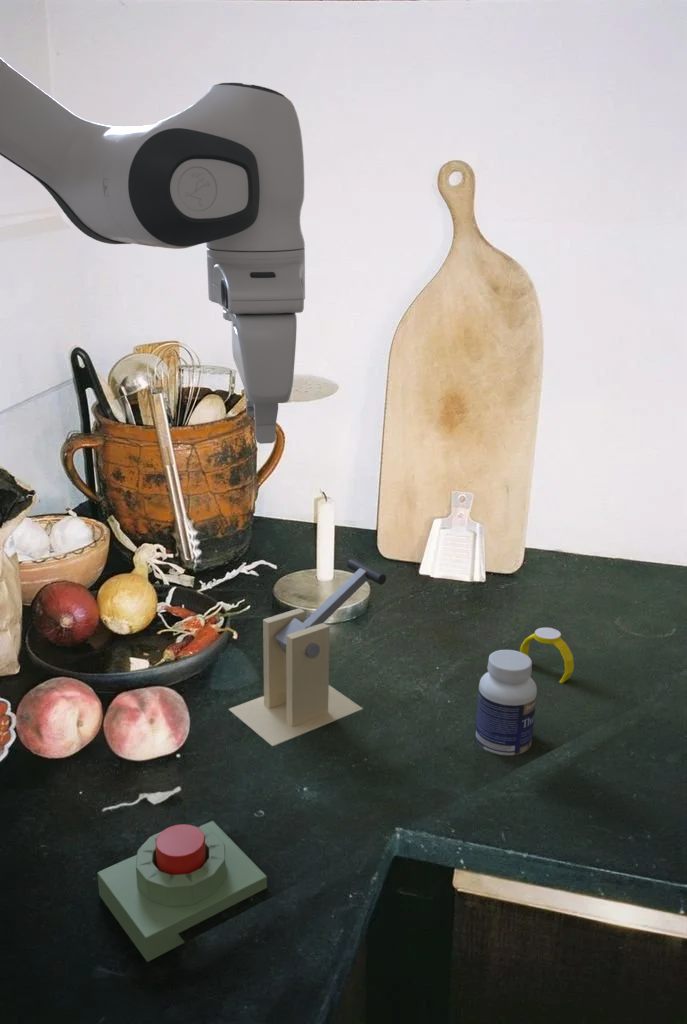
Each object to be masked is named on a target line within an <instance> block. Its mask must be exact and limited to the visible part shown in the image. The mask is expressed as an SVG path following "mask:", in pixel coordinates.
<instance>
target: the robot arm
mask: <svg viewBox="0 0 687 1024" xmlns="http://www.w3.org/2000/svg"><path fill="white" fill-rule="evenodd" d="M0 156H1V157H3V158H4V159H5V160H7V161H9V162H11V163H12V164H13V165H15V166H16V167H18V168H19V169H21V170H23V171H24V172H25V173H26V174H28V175H30V176H31V177H32V178H33V179H35V180H36V181H37V182H38V183H39V184H40V185H42V186H43V188H44V189H46V191H48V193H49V195H51V197H52V198H53V200H55V202H56V203H57V205H58V206H59V208H60V209H61V210H62V212H63V213H64V215H65V216H66V217H67V218H68V220H69V221H70V222H71V223H72V224H73V225H74V227H76V229H78V230H79V231H81V233H83V234H84V235H86V236H87V237H89V238H90V239H93V240H95V241H97V242H100V243H104V244H107V245H133V244H135V245H141V246H147V247H153V248H162V249H163V248H164V249H173V250H179V249H181V250H182V249H188V248H192V247H196V246H199V245H202V244H205V245H206V269H207V271H206V272H207V290H208V291H207V293H208V294H207V295H208V300H209V301H210V302H211V303H215V304H218V305H220V306H221V307H222V317H223V319H224V320H225V321H229V322H231V348H232V349H231V351H232V357H233V361H234V364H235V366H236V369H237V372H238V374H239V375H238V376H239V377H240V380H241V383H242V386H243V388H244V389H243V390H244V395H245V412H246V414H247V415H248V417H249V418H254V438H255V440H256V442H257V443H258V444H260V445H261V444H274V443H275V442H276V439H277V420H278V413H279V404H285V403H287V402H289V401H290V398H291V395H292V391H293V386H294V376H295V375H294V374H295V363H296V349H297V346H296V345H297V329H298V327H297V324H298V323H297V321H298V319H297V314H301V313H303V312H304V308H305V299H306V244H305V238H304V235H303V231H302V226H301V225H302V224H301V213H302V209H303V204H304V201H305V158H304V157H305V156H304V145H303V135H302V130H301V123H300V120H299V116H298V112H297V110H296V108H295V105H294V103H293V102H292V100H290V99H289V98H288V97H286V96H285V95H284V94H282V93H281V92H279V91H277V90H275V89H271V88H269V87H264V86H261V85H256V84H247V83H242V82H220V83H218V84H214V85H212V86H210V87H209V89H208V90H207V92H206V93H205V95H203V96H202V97H201V98H200V99H199V100H197V101H196V102H195V103H193V104H192V105H190V106H188V107H187V108H185V109H183V110H181V111H180V112H178V113H176V114H173V115H171V116H169V117H167V118H165V119H163V120H158V122H157V123H155V124H148V125H147V124H146V125H143V126H142V125H141V126H117V125H110V124H109V125H108V124H101V123H97V122H93V121H89V120H86V119H84V118H81V117H80V116H79V115H76V114H75V113H73V112H72V111H70V110H69V109H68V108H66V107H65V106H64V105H63V104H61V103H60V102H58V101H57V100H56V99H55V98H53V97H52V96H51V95H49V94H48V93H47V92H46V91H44V90H43V89H41V88H40V87H38V85H36V84H34V83H33V82H32V81H30V80H29V79H28V78H26V77H25V76H24V75H22V74H21V73H20V72H18V71H17V70H16V69H15V68H13V67H12V66H11V65H10V64H8V63H7V62H6V61H5V60H4V58H2V57H1V56H0Z"/></svg>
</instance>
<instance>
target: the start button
mask: <svg viewBox="0 0 687 1024" xmlns="http://www.w3.org/2000/svg"><path fill="white" fill-rule="evenodd" d="M195 826H196V825H192V824H188V823H187V824H186V823H185V824H184V823H181V824H175V825H171V826H169V827H167V828H165V829H162V831H160V832H161V833H160V832H159V833H160V834H159V835H158V837H157V839H156V859H157V865H158V867H159V869H160V870H161V871H163V872H164V873H167V874H170V875H181V874H189V873H191V872H193V871H196V870H198V869H199V868H200V867H201V866H202V865H203V863H204V861H205V857H206V854H205V836H204V834H203V832H202V831H201V830H200V829H199V828H197V827H198V826H196V827H195Z"/></svg>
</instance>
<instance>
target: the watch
mask: <svg viewBox="0 0 687 1024" xmlns="http://www.w3.org/2000/svg"><path fill="white" fill-rule="evenodd" d="M533 640H535V641H536V642H538V643H540V644H544V645H553V646H554V647H555V648H556V649H557V650H558V651H559V653H560V656H561V657H562V659H563V662H564V663H563V664H564V672H563V674H562V676H561V678H560V680H559V681H558V683H560V684H563V683H565V682H566V681H568V680H569V679H571V676H572V674H573V672H574V668H575V666H574V665H575V664H574V663H575V662H574V655H573V653H572V651H571V649H570V647H569V645H568V644H567V643H566V642H565V640H563V638H562V633H561V631H559V630H558V629H556V628H553V627H539V628H537V629H535V630H534V632H533V633H532V634H530V635H529V636H527V637H526V638H524V640H523V642H522V643H521V644H520V647H519V652H521V653H524V654H526V655H527V656H528V657H529V658H530V655H529V651H530V644H531V643H532V641H533Z"/></svg>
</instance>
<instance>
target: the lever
mask: <svg viewBox="0 0 687 1024" xmlns="http://www.w3.org/2000/svg"><path fill="white" fill-rule="evenodd" d="M346 566H347V568H348V569H349V570H351V571H353V572H354V573H353V574H352V575H350V577H348V579H347V580H346V581H345V582H344V583H342V585H341V586H339V587H338V588H337V589H336V590H335V591H334V592H333V593H332V594H331V595H330V596H329V597H328V598H326V600H325V601H324V602H323V603H322V604H321V605H320V606H319V607H318V608H316V609H315V611H313V612H312V613H311V614H310V615H309V616H308V617H307V618H305V621H304V622H303V623H302V622H300V621H299V620H297V619H296V618H294V619H293V620H292V621H291V622H290V623H289V624H288V625H287V626H286V627H285V628H284V629H283V630H282V631H281V632H279V633H278V634H277V635H276V636H275V639H276V640H277V642H278V643H279V645H280V646H281V648H282V649H283V651H284V652H285V653H286V635H288V634H291V633H294V632H297V631H300V630H303V629H306V628H309V627H312V626H315V625H318V624H321V623H325V622H326V621H327V620H328V619H329V618H330V617H331V616H332V615H333V614H334V613H336V611H338V609H340V607H342V605H344V604H345V603H346V602H347V601H348V600H349V599H350V598H351V597H352V596H353V595H354V594H355V593H356V592H357V591H358V590H359V589H360V588H361V587H362V586H363V585H364V584H365V583H366V582H367V581H368V580H370V581H372V582H374V583H376V584H378V585H381V586H382V585H384V584H385V583H386V581H387V576H386V574H384V573H382V572H380V571H378V570H376V569H374V568H372V567H370V566H368V565H367V564H365V563H362V562H360V561H359V560H357V559H355V558H350V559H349V560H348V561H347V563H346Z"/></svg>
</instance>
